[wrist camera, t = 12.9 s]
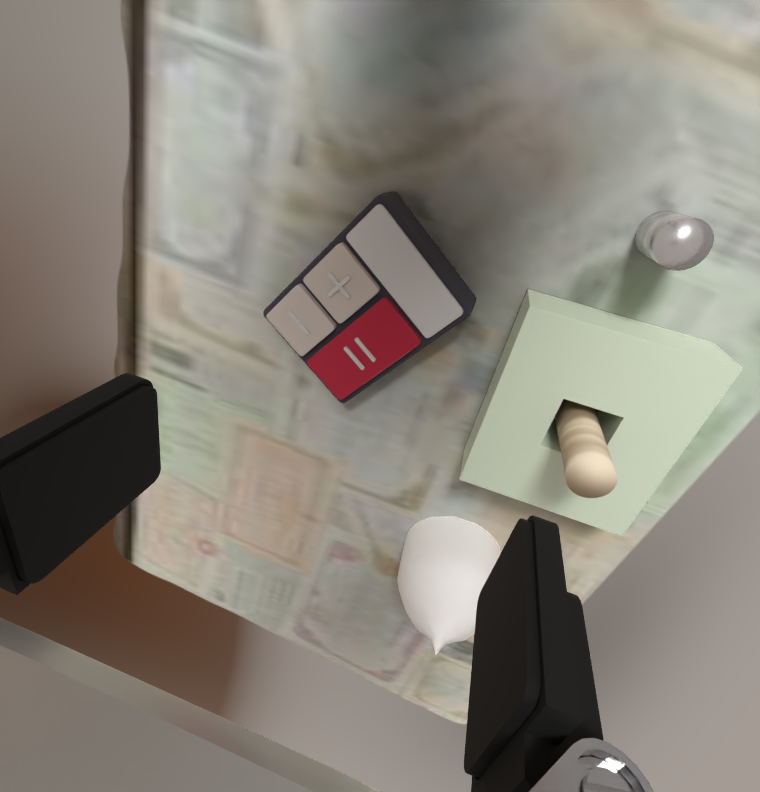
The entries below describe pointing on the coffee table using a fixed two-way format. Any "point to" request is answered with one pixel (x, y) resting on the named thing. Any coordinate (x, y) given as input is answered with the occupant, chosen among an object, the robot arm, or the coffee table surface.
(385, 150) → the coffee table surface
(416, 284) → the calculator
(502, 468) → the peg block
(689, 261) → the short pin
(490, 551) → the teardrop
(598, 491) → the long pin
